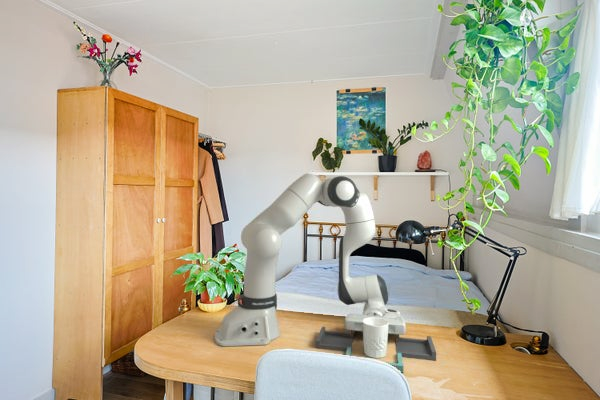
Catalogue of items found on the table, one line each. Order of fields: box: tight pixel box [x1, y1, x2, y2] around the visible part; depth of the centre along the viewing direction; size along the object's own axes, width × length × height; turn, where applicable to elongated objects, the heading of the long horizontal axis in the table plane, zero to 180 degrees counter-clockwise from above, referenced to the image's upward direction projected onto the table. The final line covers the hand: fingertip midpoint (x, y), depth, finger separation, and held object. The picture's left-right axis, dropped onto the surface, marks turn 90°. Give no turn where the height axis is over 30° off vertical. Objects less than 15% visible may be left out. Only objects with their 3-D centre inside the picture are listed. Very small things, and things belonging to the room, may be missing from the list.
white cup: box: [362, 317, 389, 359], centre depth 112 cm, size 8×8×10 cm
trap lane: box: [315, 326, 437, 374], centre depth 118 cm, size 32×36×2 cm
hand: (374, 332), depth 116 cm, fingers closed, pressing on white cup
